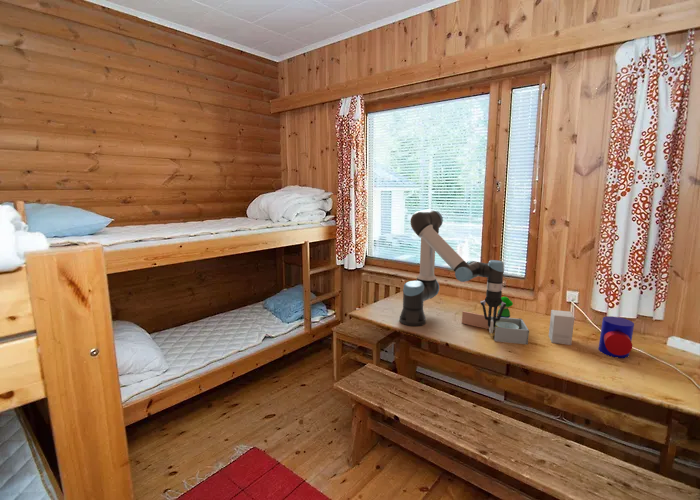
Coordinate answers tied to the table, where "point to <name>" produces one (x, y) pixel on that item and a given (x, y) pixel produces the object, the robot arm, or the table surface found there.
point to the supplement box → (561, 327)
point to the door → (474, 320)
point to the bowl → (507, 325)
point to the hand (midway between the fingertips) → (490, 332)
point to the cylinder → (616, 336)
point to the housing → (511, 332)
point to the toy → (506, 311)
